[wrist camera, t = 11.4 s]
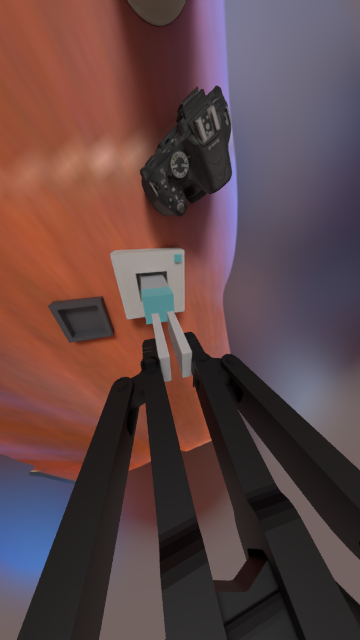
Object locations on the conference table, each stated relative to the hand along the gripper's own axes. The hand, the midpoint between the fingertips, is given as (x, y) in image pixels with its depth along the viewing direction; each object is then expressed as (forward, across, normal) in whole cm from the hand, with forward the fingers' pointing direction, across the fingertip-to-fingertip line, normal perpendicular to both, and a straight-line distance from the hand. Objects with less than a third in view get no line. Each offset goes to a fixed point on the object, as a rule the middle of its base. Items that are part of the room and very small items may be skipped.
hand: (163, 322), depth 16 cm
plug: (+16, 0, 0) cm, 16 cm away
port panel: (+17, 0, 0) cm, 17 cm away
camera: (+18, +7, +17) cm, 25 cm away
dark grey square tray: (+17, -15, -7) cm, 24 cm away
